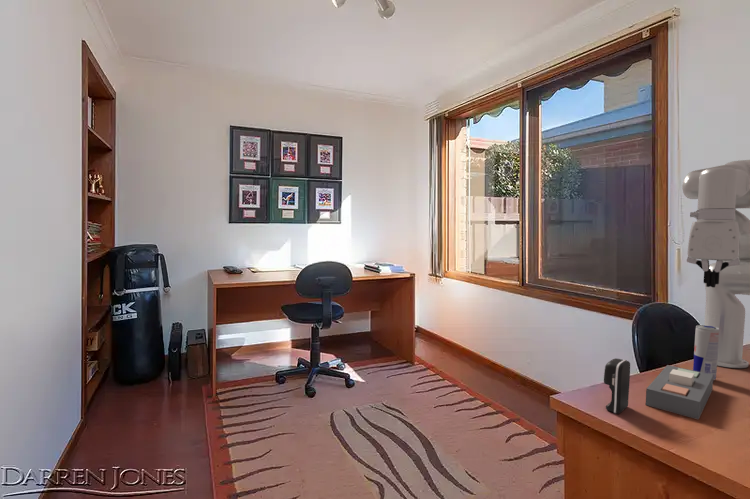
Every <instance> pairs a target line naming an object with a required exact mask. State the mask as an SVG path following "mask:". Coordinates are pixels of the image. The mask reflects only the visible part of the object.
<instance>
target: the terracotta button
mask: <svg viewBox="0 0 750 499" xmlns="http://www.w3.org/2000/svg"><path fill="white" fill-rule="evenodd" d="M662 391H667V392H671V393H675V394H679V395H683V396H687V395H688V392H689V389H687V388H682V387H678V386H674V385H670V384H665V386H664V387H663V388H662Z"/></svg>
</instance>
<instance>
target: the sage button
mask: <svg viewBox="0 0 750 499" xmlns="http://www.w3.org/2000/svg"><path fill="white" fill-rule="evenodd" d="M681 368H682V367H679V368H678V369H677V370H680V371H684V372H689V373H694V378H698V377H699V372H695V371H690V370H691V369H689V370H686V369H687V368H684V369H681Z"/></svg>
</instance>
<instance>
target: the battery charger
mask: <svg viewBox="0 0 750 499" xmlns="http://www.w3.org/2000/svg"><path fill="white" fill-rule="evenodd" d="M603 374H604V375H603V383H604V384H605V385H608V388H609V390H610V391H611V398H610V399H611V401H610V402H609V403H608V404H606V406H605V409H606V410H607V411H609V412H611V413H613V414H618V415H619V414H620V413H622V412H623V411H624V410H625V409H627V407H628V406H629V398H630V397H629V394H630V378H631V362H630V361H629V360H626V359H621V358H613V359H611V360H609V361H608V362H607V363H606V364H605V366H604V373H603Z"/></svg>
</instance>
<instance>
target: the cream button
mask: <svg viewBox="0 0 750 499" xmlns="http://www.w3.org/2000/svg"><path fill="white" fill-rule="evenodd" d="M669 382H673V383H678V384H682V385H686V386H690V387H693V385H694V373H689V372H684V371H680V370H675V369H673V370H672V371H671V372H670V374H669Z"/></svg>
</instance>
